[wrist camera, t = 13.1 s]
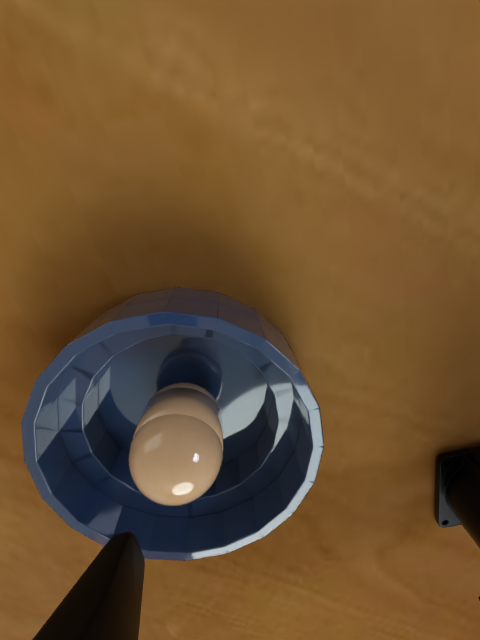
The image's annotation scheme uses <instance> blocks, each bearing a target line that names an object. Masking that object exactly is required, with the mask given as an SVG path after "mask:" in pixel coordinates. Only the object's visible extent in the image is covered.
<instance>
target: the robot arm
mask: <svg viewBox="0 0 480 640" xmlns="http://www.w3.org/2000/svg"><path fill="white" fill-rule="evenodd" d="M435 519H436V522H437V523H438V525H439V526H440V527H442V528H445V527H451V526H456V525H463V527H464V528H465V529H466V531H467V532H468V533H469V535H470V536H471V537H472V539H473V540H474V541H475V543H476V544H477V545H478V547H479V548H480V447H476V448H470V449H465V450H459V451H454V452H448V453H443V454H441V455H439V456H438V458H437V461H436V515H435ZM144 567H145V562H144V556H143V553H142V550H141V548H140V546H139V543H138V541H137V538H136V536H135V534H134V533H133V532H132V531H126V532H121V533H117V534H115V535H113V536H112V537H111V538H110V540H109V541H108V542H107V544H106V545H105V546H104V547H103V549H102V550H101V551H100V553H99V554H98V555H97V557H96V558H95V559H94V560H93V562H92V563H91V564H90V566H89V567H88V568H87V570H86V571H85V572H84V573H83V575H82V576H81V577H80V579H79V580H78V581H77V583H76V584H75V585H74V586H73V588H72V589H71V590H70V592H69V593H68V594H67V595H66V597H65V598H64V599H63V601H62V602H61V603H60V605H59V606H58V607H57V608H56V610H55V611H54V612H53V614H52V615H51V616H50V618H49V619H48V620H47V621H46V623H45V624H44V625H43V627H42V628H41V629H40V631H39V632H38V633H37V634H36V636H35V637H34V638H33V640H138V634H139V623H140V612H141V601H142V590H143V579H144ZM479 600H480V596H479Z"/></svg>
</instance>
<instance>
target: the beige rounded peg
mask: <svg viewBox="0 0 480 640" xmlns="http://www.w3.org/2000/svg"><path fill="white" fill-rule="evenodd" d="M222 458H223V419H222V413H221V409H220V406H219V404H218V402H217V401H216V399H215V398H214V396H213V395H212V394H211V393H210V392H209V391H208V390H206V389H205V388H203V387H201V386H199V385H197V384H194V383H189V382H179V383H173V384H170V385H167V386H165V387H163V388H162V389H160V390H159V391H158V392H156V393H155V394H154V395H153V396H152V397H151V398H150V400H149V401H148V403H147V404H146V406H145V408H144V410H143V413H142V415H141V418H140V421H139V423H138V426H137V428H136V431H135V434H134V436H133V439H132V441H131V445H130V450H129V470H130V474H131V477H132V479H133V481H134V483H135V486H136V487H137V488H138V490H139V491H140V492H141V493H142V494H143V495H144V496H145V497H147V498H148V499H149V500H151V501H153V502H155V503H157V504H160V505H165V506H181V505H185V504H188V503H190V502H192V501H194V500H196V499H198V498H199V497H201V496H202V495H204V494H205V493H206V492H207V491H208V489H209V488H210V487H211V486H212V485H213V483H214V482H215V480H216V478H217V476H218V474H219V471H220V468H221V464H222Z"/></svg>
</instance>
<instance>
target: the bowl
mask: <svg viewBox="0 0 480 640" xmlns="http://www.w3.org/2000/svg"><path fill="white" fill-rule="evenodd" d="M179 382H189V383H194V384H197V385H199V386H201V387H203V388H205V389H206V390H208V391H209V392H210V393H211V394H212V395H213V396H214V398H215V399H216V401H217V402H218V404H219V406H220V409H221V413H222V419H223V458H222V464H221V468H220V471H219V474H218V476H217V478H216V480H215V482H214V483H213V485H212V486H211V487H210V488H209V489H208V491H207V492H206V493H205V494H204V495H202V496H201V497H199V498H198V499H196V500H194V501H192V502H190V503H188V504H185V505H181V506H165V505H160V504H157V503H155V502H153V501H151V500H149V499H148V498H147V497H145V496H144V495H143V494H142V493H141V492H140V491H139V490H138V488H137V487H136V486H135V483H134V481H133V479H132V477H131V474H130V470H129V450H130V445H131V441H132V439H133V436H134V434H135V431H136V428H137V426H138V423H139V421H140V418H141V415H142V413H143V410H144V408H145V406H146V404H147V403H148V401H149V400H150V398H151V397H152V396H153V395H154V394H155V393H156V392H158V391H159V390H160V389H162V388H163V387H165V386H167V385H170V384H173V383H179ZM21 424H22V438H23V451H24V461H25V464H26V466H27V468H28V470H29V472H30V474H31V476H32V478H33V480H34V483H35V485H36V487H37V489H38V491H39V493H40V495H41V497H42V499H43V500H44V501H45V502H46V503H47V504H48V505H49V506H50V507H51V508H52V509H53V510H54V511H55V512H56V513H57V514H58V515H59V516H60V517H61V518H62V519H63V520H64V521H65V522H66V523H67V524H68V525H69V526H71V528H73V529H74V530H76V531H78V532H80V533H81V534H83V535H85V536H87V537H88V538H90V539H92V540H94V541H95V542H97V543H99V544H101V545H102V546H105V545H106V544H107V542H108V541H109V540H110V538H111V537H112V536H113V535H115V534H117V533H121V532H126V531H132V532H133V533H134V534H135V536H136V538H137V541H138V543H139V546H140V548H141V550H142V553H143V556H144V558H145V559H160V560H181V561H187V560H194V559H199V558H205V557H210V556H216V555H221V554H226V553H229V552H232V551H234V550H236V549H238V548H241V547H243V546H245V545H247V544H250V543H252V542H254V541H257V540H259V539H261V538H263V537H265V536H266V535H267V534H269V533H270V532H271V531H272V530H274V529H275V528H276V527H277V526H279V525H280V524H281V523H282V522H284V521H285V520H286V519H287V518H289V517H290V516H291V515H292V514H293V513H294V512H295V510H296V509H297V508H298V506H299V505H300V503H301V502H302V500H303V499H304V497H305V496H306V494H307V493H308V491H309V490H310V488H311V487H312V485H313V484H314V482H315V479H316V475H317V471H318V467H319V463H320V460H321V456H322V452H323V448H324V440H323V431H322V422H321V413H320V407H319V404H318V402H317V400H316V398H315V396H314V394H313V392H312V390H311V388H310V386H309V384H308V382H307V380H306V378H305V376H304V374H303V372H302V370H301V368H300V366H299V364H298V362H297V360H296V358H295V357H294V355H293V353H292V351H291V349H290V347H289V345H288V343H287V341H286V339H285V338H284V336H283V335H282V333H281V332H279V331H278V330H277V329H276V328H275V327H274V326H273V325H272V324H271V323H270V322H269V321H268V320H267V319H265V318H264V317H263V316H262V315H261V314H260V313H259V312H258V311H257V310H255V309H254V308H252V307H250V306H247V305H245V304H243V303H241V302H239V301H236V300H234V299H232V298H230V297H228V296H226V295H223V294H221V293H218V292H212V291H204V290H195V289H187V288H179V287H178V288H171V289H165V290H160V291H154V292H149V293H144V294H138V295H135V296H133V297H131V298H129V299H128V300H126V301H124V302H122V303H120V304H119V305H117V306H115V307H113V308H111V309H109V310H108V311H106V312H104V313H102V314H101V315H100V316H99V317H97V318H96V319H95V320H94V321H93V322H92V323H91V324H90V325H88V326H87V327H86V328H85V329H84V330H83V331H82V332H81V333H79V334H78V335H77V336H76V337H75V338H74V339H73V340H72V341H70V342H69V343H68V344H67V345H66V346H65V347H64V348H63V349H62V350H61V351H60V353H59V354H58V355H57V356H56V357H55V358H54V359H53V361H52V362H51V363H50V364H49V365H48V366H47V367H46V369H45V370H44V371H43V372H42V373H41V374H40V375H39V377H38V378H37V379H36V381H35V383H34V386H33V389H32V392H31V395H30V398H29V400H28V403H27V406H26V409H25V412H24V415H23V418H22V422H21Z"/></svg>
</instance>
